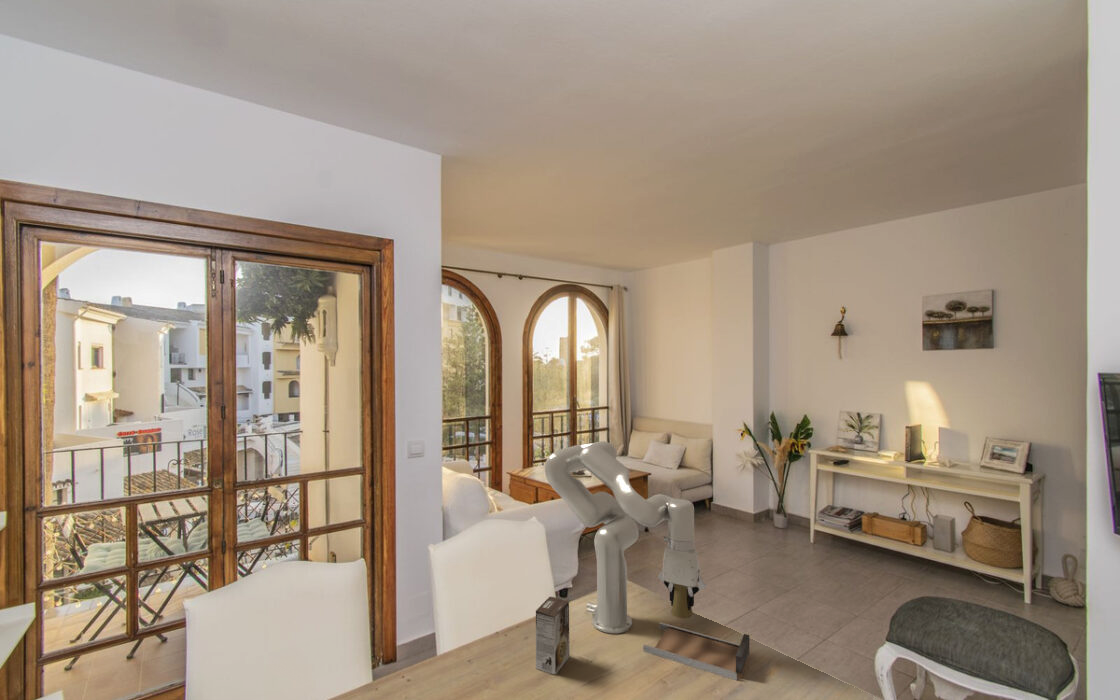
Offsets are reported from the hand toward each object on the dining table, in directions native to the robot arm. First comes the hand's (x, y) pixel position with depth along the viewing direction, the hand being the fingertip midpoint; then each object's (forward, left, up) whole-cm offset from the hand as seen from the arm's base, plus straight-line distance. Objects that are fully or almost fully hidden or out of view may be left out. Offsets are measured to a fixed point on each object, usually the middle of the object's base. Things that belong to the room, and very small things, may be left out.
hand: (681, 605), depth 148 cm
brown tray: (+6, 0, -12) cm, 14 cm away
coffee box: (-29, -25, -13) cm, 40 cm away
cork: (0, 0, -3) cm, 2 cm away
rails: (+4, 0, -12) cm, 13 cm away
